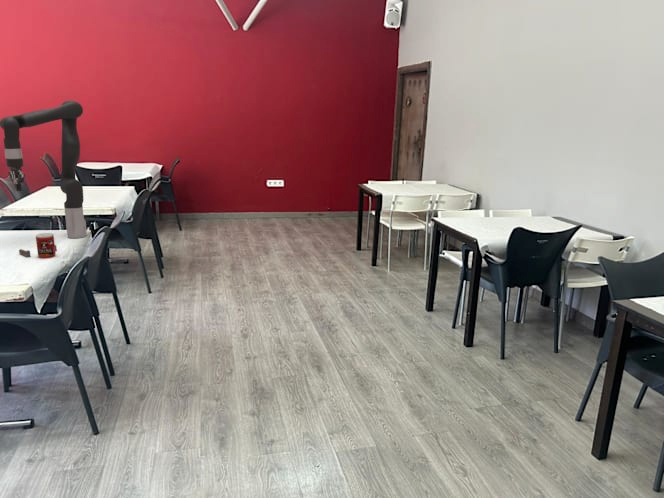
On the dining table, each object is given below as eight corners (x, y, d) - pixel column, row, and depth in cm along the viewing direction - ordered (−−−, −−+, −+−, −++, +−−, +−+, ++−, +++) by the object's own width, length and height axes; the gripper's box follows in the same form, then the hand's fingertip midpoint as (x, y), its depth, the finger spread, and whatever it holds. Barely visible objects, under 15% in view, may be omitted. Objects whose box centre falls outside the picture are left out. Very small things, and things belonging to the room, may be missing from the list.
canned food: (36, 258, 245) (34, 237, 242) (39, 254, 252) (37, 233, 249) (54, 257, 247) (51, 236, 244) (57, 253, 255) (54, 232, 252)
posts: (55, 250, 259) (54, 244, 258) (56, 251, 258) (56, 245, 258) (25, 256, 247) (24, 251, 246) (26, 257, 246) (26, 251, 245)
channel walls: (48, 248, 262) (47, 243, 261) (54, 250, 259) (54, 246, 258) (19, 254, 250) (18, 249, 250) (25, 256, 247) (25, 251, 247)
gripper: (28, 157, 256) (32, 191, 261) (15, 155, 263) (20, 188, 268) (12, 159, 250) (17, 193, 255) (-1, 156, 257) (5, 190, 262)
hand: (18, 190), depth 262 cm, fingers closed
